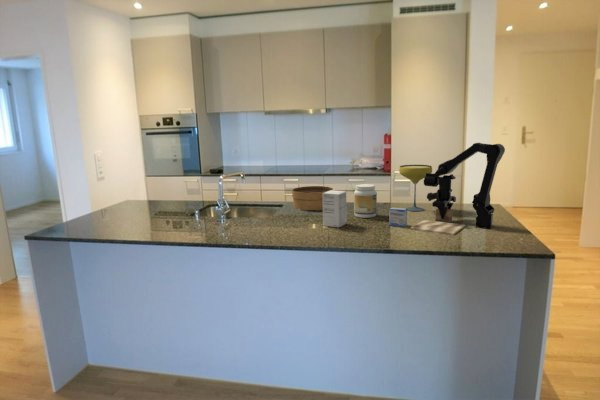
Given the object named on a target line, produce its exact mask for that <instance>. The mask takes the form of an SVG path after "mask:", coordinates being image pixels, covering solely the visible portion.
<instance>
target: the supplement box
mask: <svg viewBox="0 0 600 400" xmlns="http://www.w3.org/2000/svg"><path fill="white" fill-rule="evenodd" d="M322 200H323V210H322V226H323V227H332V228H333V227H334V228H340V227H342V226H345V225H346V224H347V223H348V222H347V221H348V220H347V219H348V218H347V216H348V215H347V191H345V190H334V189H333V190H330V191H327V192H325V193H322Z"/></svg>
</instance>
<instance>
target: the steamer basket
mask: <svg viewBox="0 0 600 400" xmlns="http://www.w3.org/2000/svg"><path fill="white" fill-rule="evenodd" d="M330 190H334V188H332V187H330V186H324V185H323V186H322V185H321V186H320V185H312V186H311V185H310V186H309V185H307V186H299V187H295V188H293V189H291V193H292V202H293V203H292V204H293V209H295V208H296V209H295V210H298V209H300V210H299V211H305V210H316V211H323V200H322V193H325V192H327V191H330Z"/></svg>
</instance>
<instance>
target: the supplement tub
mask: <svg viewBox="0 0 600 400" xmlns="http://www.w3.org/2000/svg"><path fill="white" fill-rule="evenodd" d="M377 193H378V192H377V190H376V184H372V183H362V184H356V185H355V190H354V192H353V206H354V207H353V213H354V217H356V218H362V219H364V218H365V219H366V218H374V217H376V216H377V207H378V206H377Z"/></svg>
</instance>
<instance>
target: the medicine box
mask: <svg viewBox="0 0 600 400" xmlns="http://www.w3.org/2000/svg"><path fill="white" fill-rule="evenodd" d="M406 208H407V207H404V208H402V207H391V208H389V216H388V217H389V219H388V223H389V224H388V225H389V227H398V228H405V227H407V226H408V211H407V209H406Z"/></svg>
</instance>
